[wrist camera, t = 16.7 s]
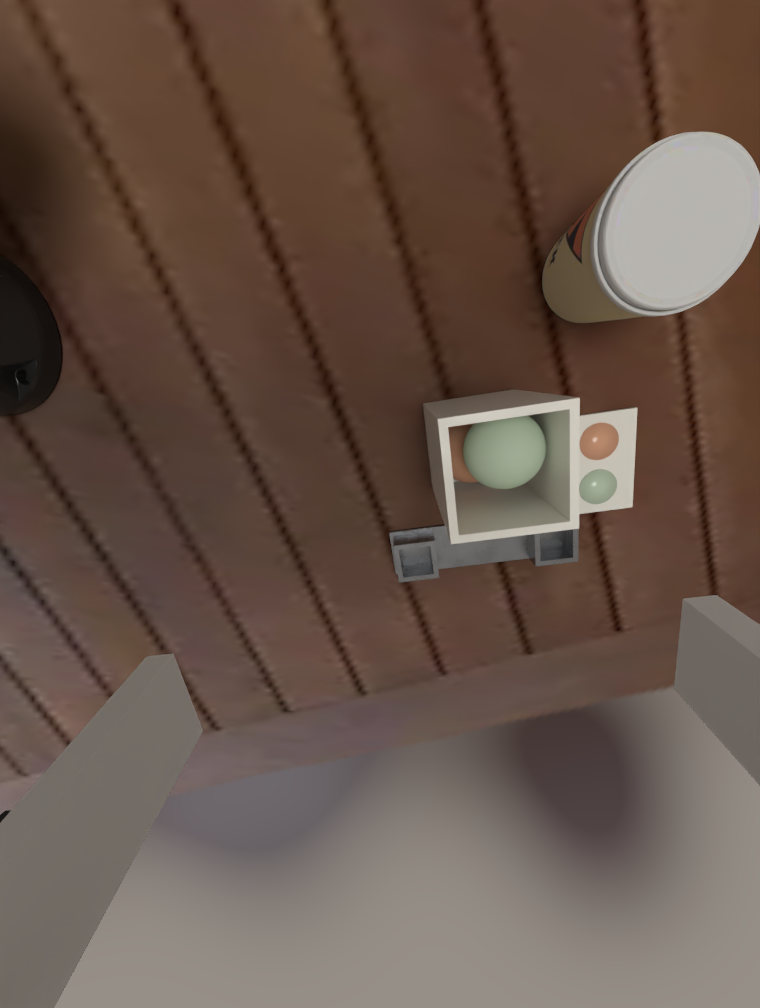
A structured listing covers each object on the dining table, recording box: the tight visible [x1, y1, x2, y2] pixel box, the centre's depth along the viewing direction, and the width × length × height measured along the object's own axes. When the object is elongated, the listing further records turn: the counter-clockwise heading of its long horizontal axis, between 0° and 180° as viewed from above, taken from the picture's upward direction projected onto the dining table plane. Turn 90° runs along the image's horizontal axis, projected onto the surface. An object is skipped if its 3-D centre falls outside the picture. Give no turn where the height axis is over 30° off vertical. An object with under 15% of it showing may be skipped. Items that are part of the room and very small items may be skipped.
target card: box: [579, 407, 637, 514], centre depth 39 cm, size 10×7×1 cm
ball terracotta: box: [448, 423, 479, 483], centre depth 35 cm, size 6×6×6 cm
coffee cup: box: [542, 132, 760, 323], centre depth 28 cm, size 9×9×12 cm
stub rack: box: [389, 525, 578, 582], centre depth 41 cm, size 5×19×3 cm, turn 99°
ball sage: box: [463, 415, 546, 489], centre depth 30 cm, size 6×6×6 cm
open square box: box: [423, 389, 580, 544], centre depth 32 cm, size 9×9×14 cm
